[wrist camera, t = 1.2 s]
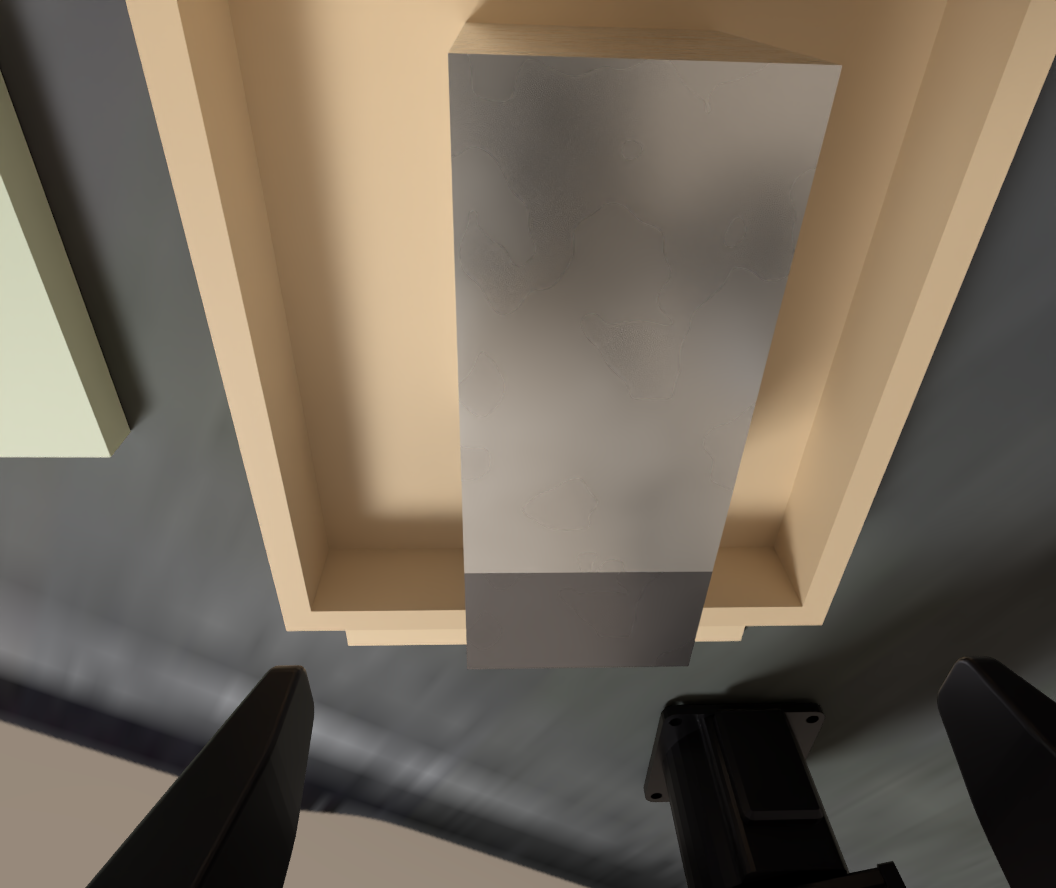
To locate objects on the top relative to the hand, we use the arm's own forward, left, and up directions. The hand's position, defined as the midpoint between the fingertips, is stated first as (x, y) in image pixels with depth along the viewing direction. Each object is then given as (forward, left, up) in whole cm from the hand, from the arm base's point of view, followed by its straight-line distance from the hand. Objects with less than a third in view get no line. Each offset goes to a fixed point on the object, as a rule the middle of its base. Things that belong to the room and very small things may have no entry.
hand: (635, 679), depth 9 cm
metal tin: (+1, 0, -10) cm, 10 cm away
